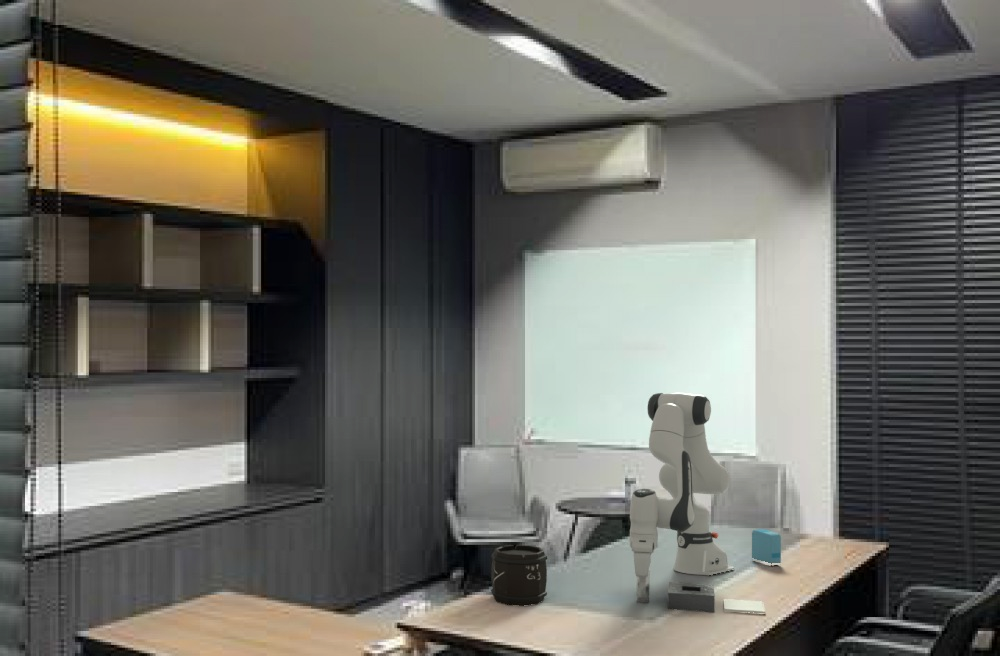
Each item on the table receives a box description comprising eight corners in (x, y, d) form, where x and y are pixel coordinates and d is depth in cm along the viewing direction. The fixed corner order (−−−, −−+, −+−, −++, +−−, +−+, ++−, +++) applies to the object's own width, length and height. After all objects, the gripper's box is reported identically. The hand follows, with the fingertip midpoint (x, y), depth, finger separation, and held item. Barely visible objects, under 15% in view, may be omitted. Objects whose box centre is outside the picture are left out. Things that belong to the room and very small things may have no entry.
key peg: (644, 599, 297) (644, 567, 297) (652, 602, 294) (652, 570, 294) (634, 600, 295) (634, 569, 295) (641, 603, 292) (642, 571, 292)
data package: (781, 566, 347) (781, 534, 347) (770, 567, 345) (771, 534, 346) (761, 559, 358) (761, 528, 358) (751, 560, 356) (751, 529, 357)
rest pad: (723, 601, 295) (723, 598, 295) (762, 604, 293) (762, 601, 293) (724, 612, 283) (724, 608, 283) (765, 614, 281) (765, 611, 281)
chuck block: (669, 597, 300) (669, 581, 300) (713, 600, 297) (713, 584, 297) (667, 609, 286) (667, 592, 286) (714, 612, 283) (714, 595, 283)
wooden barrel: (504, 589, 307) (505, 541, 308) (554, 596, 299) (555, 547, 300) (479, 602, 291) (480, 551, 292) (531, 609, 283) (532, 557, 284)
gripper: (635, 534, 306) (635, 576, 305) (631, 547, 286) (630, 592, 285) (655, 535, 304) (654, 578, 304) (652, 548, 284) (651, 593, 284)
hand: (643, 585), depth 294 cm, fingers closed on key peg, 4 cm apart
